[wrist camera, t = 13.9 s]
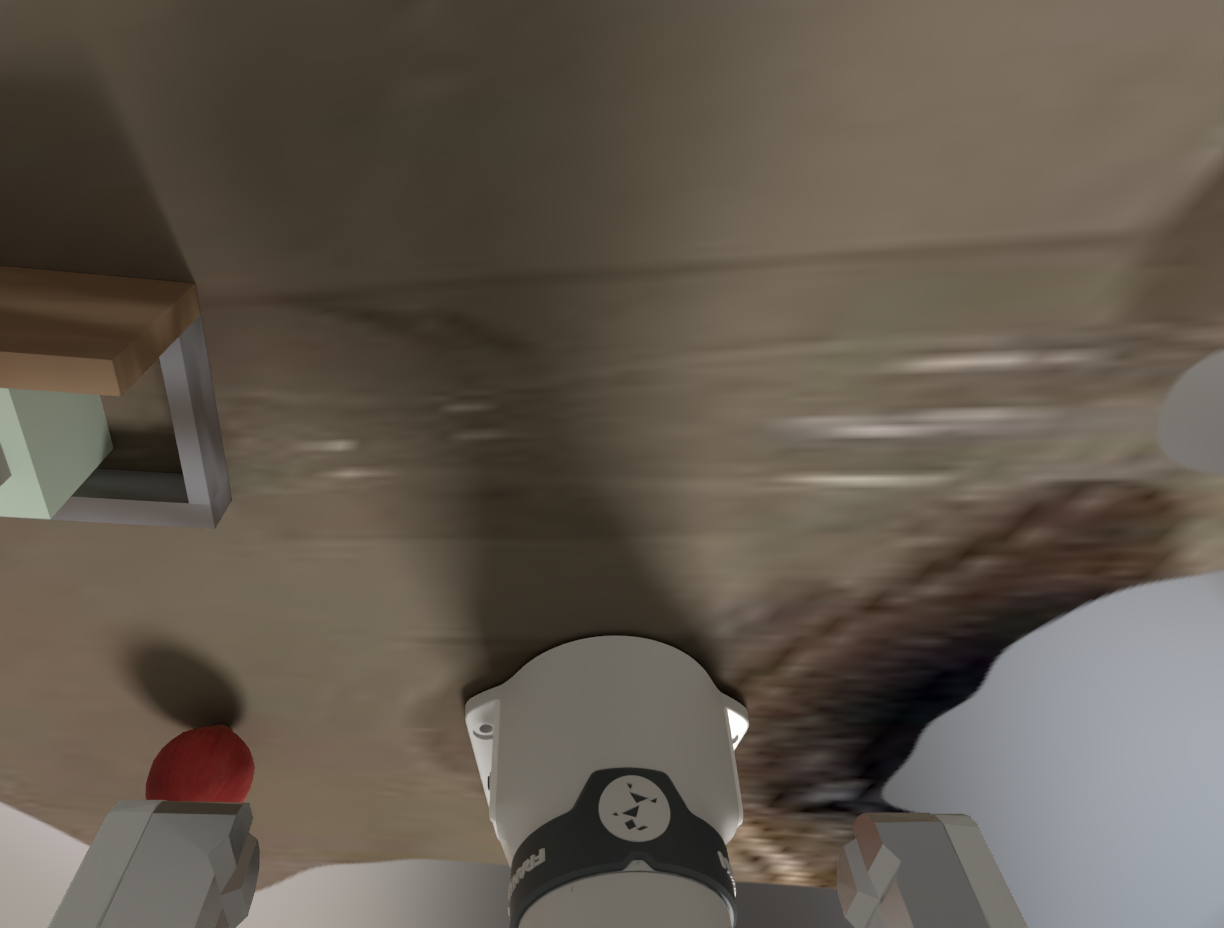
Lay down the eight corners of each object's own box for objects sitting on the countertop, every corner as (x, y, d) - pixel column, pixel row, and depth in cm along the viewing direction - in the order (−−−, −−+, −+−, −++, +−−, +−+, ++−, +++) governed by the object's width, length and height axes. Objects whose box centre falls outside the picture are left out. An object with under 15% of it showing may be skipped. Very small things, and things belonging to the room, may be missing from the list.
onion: (238, 767, 54) (193, 884, 47) (158, 731, 51) (98, 848, 45) (286, 724, 52) (246, 839, 45) (205, 684, 49) (150, 800, 43)
